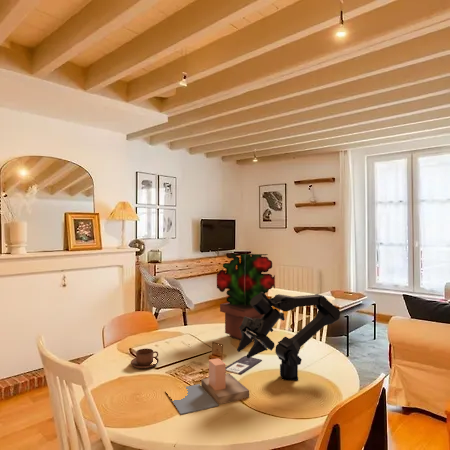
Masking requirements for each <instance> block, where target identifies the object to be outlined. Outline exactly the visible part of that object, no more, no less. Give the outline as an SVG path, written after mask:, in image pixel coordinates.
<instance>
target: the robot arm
mask: <svg viewBox="0 0 450 450" xmlns="http://www.w3.org/2000/svg"><path fill="white" fill-rule="evenodd" d="M250 305H251V306H252V307H253V308H254V309H255V310H256V311H257V312H258V313H259V314H261V315H262V314H264V315H263V316H262V317H261V319H259V318H257V319H256V318H254V319H251V318H248V317H246V316H245V317H244V319H243V322H242V325H241V326H240V327H239V329H240V330H241V334H242V338H241V341H240V340H239V344H238V347H237V349H236V351H237V352H238V353H239V352H242V351H243V350H244V349H245V348H247V347H248V346H249V345H251V344H252V343H253V344H252V346H251V348H250V349H249V350H248V352H247V354H246V355H245V356H246V357H247V358H250V357H252V358H253V357H254V356H256V355H259V354H260V353H262V352H265V351H268V350H270V351H273V349H274V351H275V355H276V356H277V358H278V360H280V361H281V363H280V364H279V376H280V377H281V380H282V379H288V380H287V381H299V377H298V376H299V373H298V372H299V371H298V370H299V369H298V368H299V365H301V363H302V360H303V359H302V358H301V357H300V356H299V354H300V351H301V350H300V349H301V347H303V345H305V344H306V343H307V342H309V340H311V339H312V338H313V337H314V336H315V335H317V333H319V332H320V330H322V329H323V328H324V327H325V326H328V325H333V324H334V323H335V322H337V321H338V320H339V319H340V318H341V311H340V309H339V308H338V307H336V306H335V305H334V304H333V303H332V302H330V300H328V299H327V297H326V296H325V295H321V294H319V293H316V294H308V295H307V294H306V295H296V296H292V295H286V294H280V293H279V294H278V293H277V294H275V295H274V296H273V297H270V298H269V297H267V295H266V293H265V294H264V293H263V292H261V293H260V294H258V295H256V296H255V297H253V298H252V299H251V301H250ZM311 306H315V308H316V309H317V312H316V316H315V317H314V318H313V319H312V320H311V321H309V322H308V323H307V324H306V325H305V326H303V327H302V328H301V329H300V330H299V331H298V332H296V334H294V335H293V336H292V337H287V336H284V337H283V338H281V340H280V341H277V345H275V342H274V341H273V340H272V339H271V338H270V337H269V336H268V334H269V333H270V332H271V333H273V331H274V326H275V325H276V324H277V322H279V320H281V321H285V319H286V318H285V313H283V312H289V311H293V310H295V308H300V307H311ZM273 307H274V308H273ZM279 310H280V311H282V312H280V311H279ZM250 338H251V339H253V338H254V340H251V339H250ZM255 338H256V339H255ZM289 379H290V380H289Z"/></svg>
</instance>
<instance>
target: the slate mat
mask: <svg viewBox="0 0 450 450" xmlns="http://www.w3.org/2000/svg"><path fill="white" fill-rule="evenodd" d="M185 387H186V389H188V390H187V391H188V393H187V394H188V395H187V396H185V398H183V399H181V400H174V401H171V402H173V403H174V404H173V403H172V404H173V405H175V406H176V407H175V406H174V407H175V409H176V408H177V409H176V410H177V412H178V413H179V414H180V415H187V414H190V413H194V412H199V411H203V410H207V409H211V408H215V407H219V405H220V404H218V403H217V402H216V401H215V400H214V399H213V398H212V397H211V396H210V394H209V393H208V392H207V391H206V390H205V389H204V388H203V387H202V386H201V384H200V383H197V384H193V385H188V386H185Z"/></svg>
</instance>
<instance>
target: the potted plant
mask: <svg viewBox="0 0 450 450" xmlns="http://www.w3.org/2000/svg"><path fill="white" fill-rule="evenodd" d="M239 256H240V257H239ZM267 256H268V254H267V253H266V254H264V253H259V254H258V253H257V254H256V253H250V254H249V253H226V258H228V259H231V260H230V262H225V263H223V264H222V267H223V269H221V270H219V272H218V273H217V272H216V289H218V290H219V291H220V292H221V293H223V292H225V290H226V289H227V291H226V295H227V296H228V297H226V302H225V303H220V304H219V312H221V313H224V328H225V329H224V333H225V334H227V335H230V338H232V339H235V340H237V341H239V342H240V341H241V338H242V334H241V330H240V329H239V327H240V326H241V325H242V322H243V319H244V317H245V316H246V317H248V318H251V319H254V318H256V319H257V318H259V319H261V317H262V316H263V315H264V314H262V315H261V314H259V313H258V312H257V311H256V310H255V309H254V308H253V307H252V306H251V305H250V301H251V299H252V298H253V297H255V296H256V295H258V294H260V293H261V292H263V293H264V294H265V295H266V294H267V293H268V292H269V291H270V290H271V289H272V288H273V289H276V288H275V287H276V286H275V285H276V281H275V280H276V275H275V274H273V275H272V274H271V273H268V272H269V270H270V269H272V268H273V262H272V260H270V259H269V257H267ZM224 269H225V270H226V271H225V270H224ZM228 289H229V290H228ZM250 339H251V338H250ZM253 339H254V338H253ZM253 339H251V340H252V341H254V340H253ZM255 339H256V338H255Z"/></svg>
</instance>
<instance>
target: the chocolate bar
mask: <svg viewBox="0 0 450 450" xmlns="http://www.w3.org/2000/svg"><path fill="white" fill-rule="evenodd" d="M246 356H247V355H244V356H242V357H239V359H237V360H235V361H233V362H232V363H230V364H229V365H227V366H226V372H230V373H234V374H238V375H243V374H244V373H246V372H248V371H249V370H251V369H252V368H254V367H255V366H257V365H259V363H261V362H263V359H260V358H256V357H253V356H252V357H250V358H247V357H246Z"/></svg>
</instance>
